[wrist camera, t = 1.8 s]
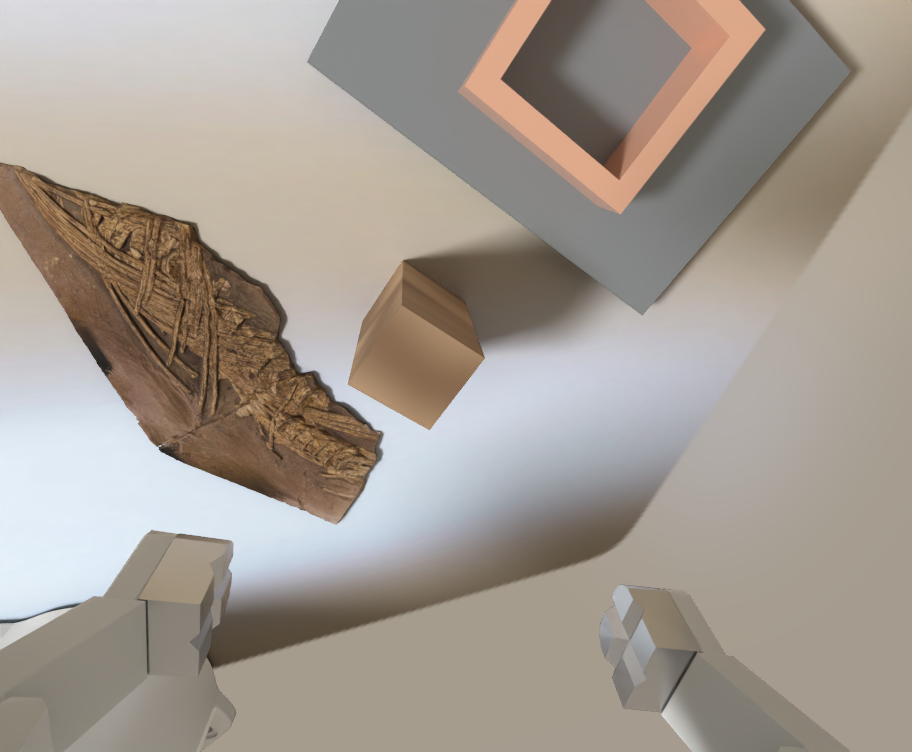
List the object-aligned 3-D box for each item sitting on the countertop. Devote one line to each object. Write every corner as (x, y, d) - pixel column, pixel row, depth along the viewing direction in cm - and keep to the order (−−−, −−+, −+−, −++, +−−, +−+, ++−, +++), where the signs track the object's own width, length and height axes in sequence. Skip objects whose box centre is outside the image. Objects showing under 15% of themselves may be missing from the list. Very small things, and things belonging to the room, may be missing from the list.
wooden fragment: (416, 475, 33) (416, 485, 32) (278, 553, 35) (274, 565, 34) (95, 76, 23) (81, 74, 22) (-78, 213, 25) (-98, 216, 24)
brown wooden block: (423, 358, 30) (429, 430, 22) (362, 321, 28) (347, 384, 21) (464, 301, 28) (484, 358, 21) (402, 260, 27) (401, 305, 20)
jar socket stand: (631, 307, 29) (667, 334, 25) (312, 66, 23) (292, 51, 19) (827, 75, 25) (908, 63, 21) (501, -292, 19) (527, -407, 15)
